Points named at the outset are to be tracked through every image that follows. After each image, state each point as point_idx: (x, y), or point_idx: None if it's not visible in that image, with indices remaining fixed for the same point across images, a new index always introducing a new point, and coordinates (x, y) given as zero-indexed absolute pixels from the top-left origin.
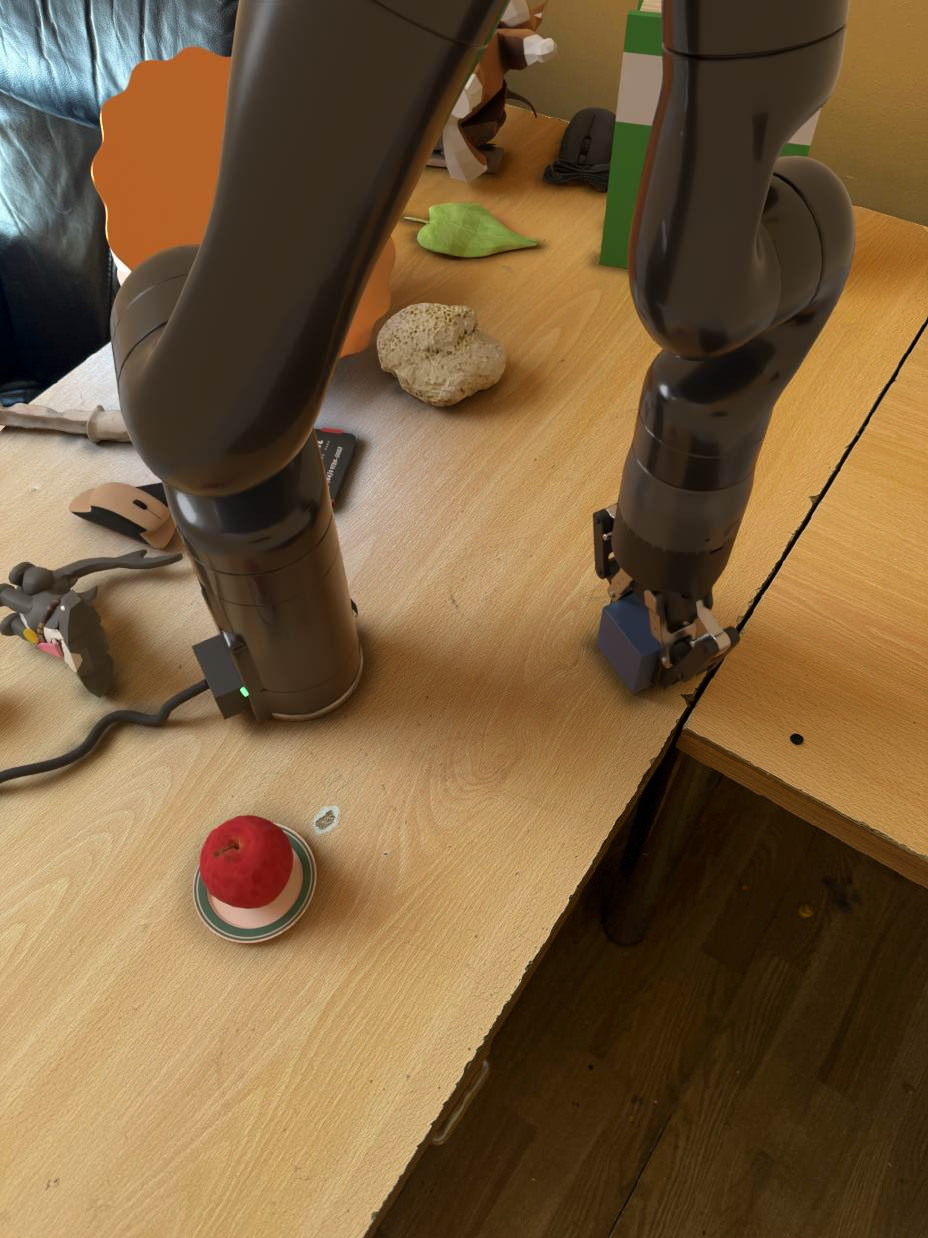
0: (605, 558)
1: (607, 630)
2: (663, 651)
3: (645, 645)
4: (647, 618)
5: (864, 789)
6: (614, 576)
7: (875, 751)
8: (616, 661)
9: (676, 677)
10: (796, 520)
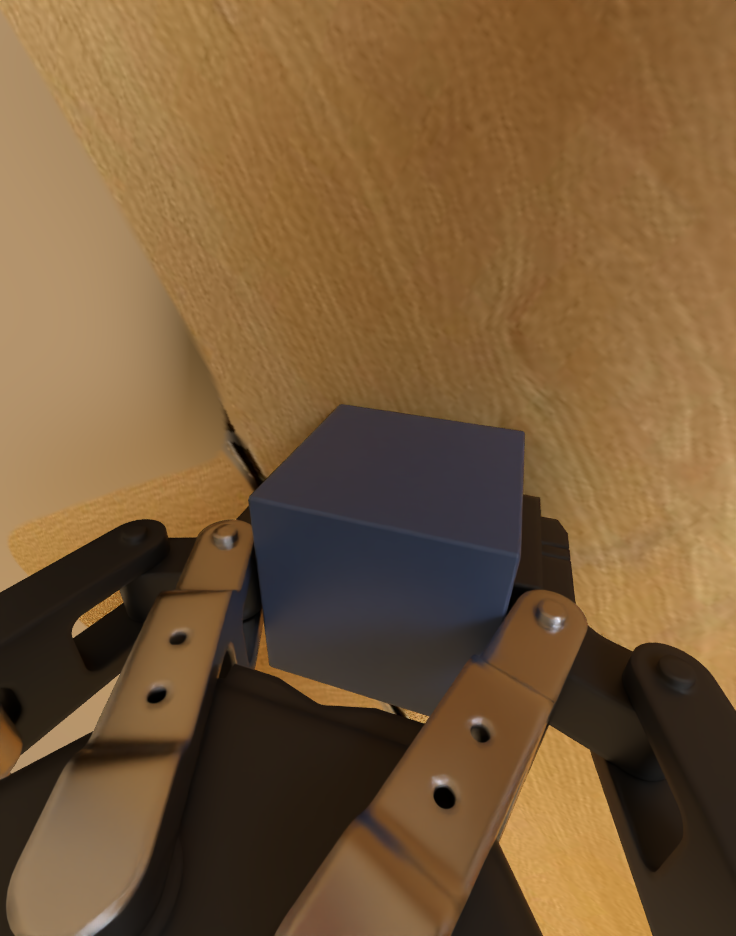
0: (685, 795)
1: (471, 489)
2: (217, 563)
3: (284, 539)
4: (373, 616)
5: (60, 557)
6: (527, 762)
7: (107, 607)
8: (413, 435)
9: None
10: None
